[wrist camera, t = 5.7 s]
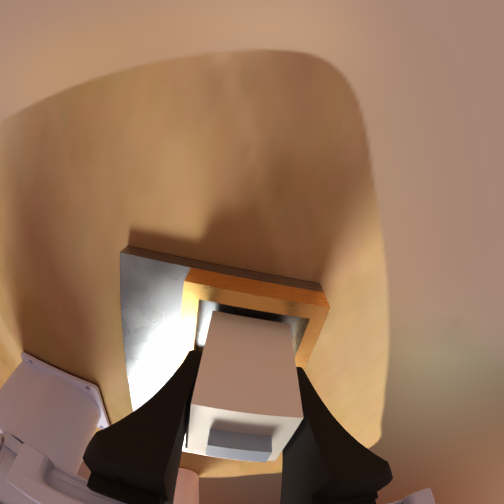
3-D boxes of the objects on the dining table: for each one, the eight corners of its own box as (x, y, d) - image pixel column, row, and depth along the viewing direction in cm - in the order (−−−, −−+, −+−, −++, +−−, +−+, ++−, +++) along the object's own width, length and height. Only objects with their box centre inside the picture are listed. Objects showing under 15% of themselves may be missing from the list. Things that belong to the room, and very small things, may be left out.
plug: (204, 364, 15) (184, 464, 9) (212, 310, 14) (187, 421, 8) (270, 375, 16) (275, 475, 9) (289, 323, 14) (305, 435, 8)
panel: (138, 417, 21) (131, 437, 18) (127, 245, 15) (107, 263, 12) (256, 440, 21) (256, 461, 19) (320, 283, 15) (330, 307, 13)
